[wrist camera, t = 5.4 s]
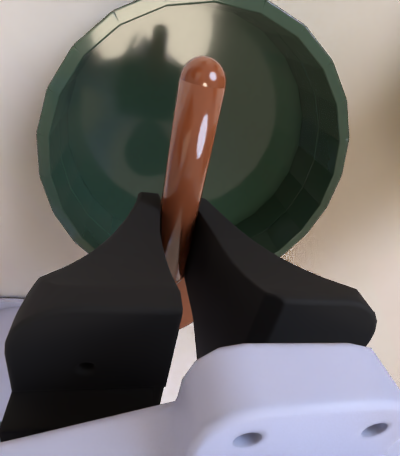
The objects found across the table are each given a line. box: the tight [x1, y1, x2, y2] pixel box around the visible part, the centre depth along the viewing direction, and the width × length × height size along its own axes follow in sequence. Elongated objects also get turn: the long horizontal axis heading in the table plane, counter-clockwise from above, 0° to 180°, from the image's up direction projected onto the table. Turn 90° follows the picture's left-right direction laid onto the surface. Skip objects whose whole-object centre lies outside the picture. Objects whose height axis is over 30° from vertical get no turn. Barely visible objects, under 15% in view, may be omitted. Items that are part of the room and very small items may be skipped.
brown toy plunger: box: [160, 55, 227, 329], centre depth 12 cm, size 11×4×4 cm, turn 168°
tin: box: [36, 0, 349, 257], centre depth 18 cm, size 15×15×5 cm
